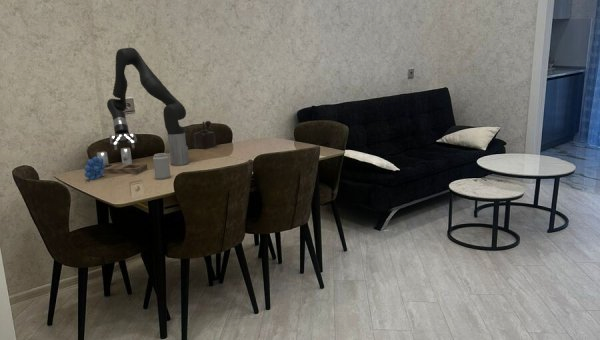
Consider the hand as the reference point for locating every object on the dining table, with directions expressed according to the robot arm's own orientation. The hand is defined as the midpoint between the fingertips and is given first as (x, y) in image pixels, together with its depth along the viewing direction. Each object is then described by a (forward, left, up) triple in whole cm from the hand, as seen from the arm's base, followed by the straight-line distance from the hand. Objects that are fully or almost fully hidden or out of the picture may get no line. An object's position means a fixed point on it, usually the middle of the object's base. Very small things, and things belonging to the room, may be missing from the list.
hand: (125, 150), depth 284 cm
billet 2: (-2, +3, -8) cm, 9 cm away
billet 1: (+4, +16, -8) cm, 18 cm away
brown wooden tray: (-4, +16, -9) cm, 19 cm away
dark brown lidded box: (-27, -52, -9) cm, 59 cm away
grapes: (0, +31, -9) cm, 32 cm away
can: (-34, +25, -9) cm, 43 cm away
